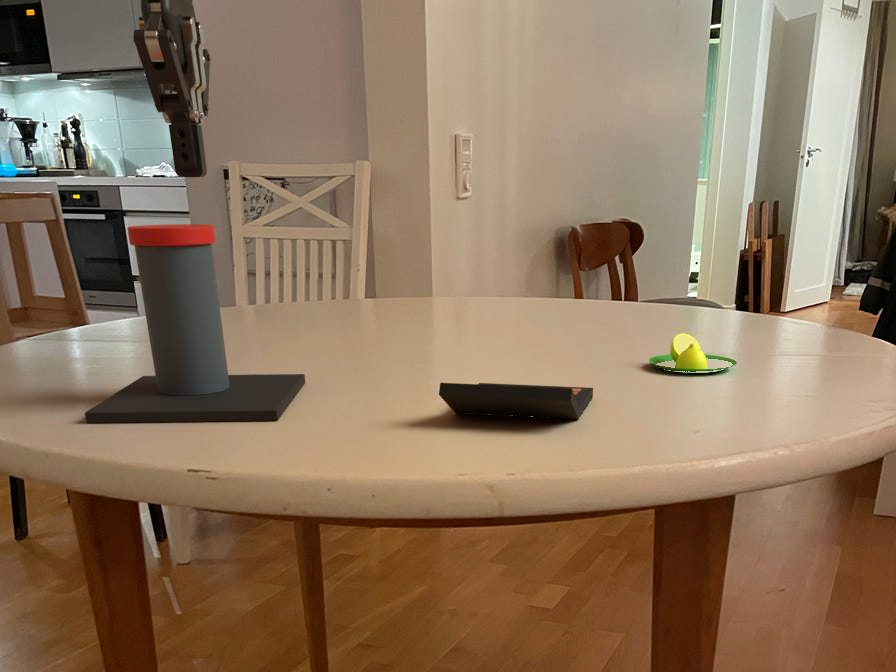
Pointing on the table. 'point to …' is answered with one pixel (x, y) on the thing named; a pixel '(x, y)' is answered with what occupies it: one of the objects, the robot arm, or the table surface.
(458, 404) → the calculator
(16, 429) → the table surface
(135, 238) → the tumbler
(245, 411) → the mat
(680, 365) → the lemon
